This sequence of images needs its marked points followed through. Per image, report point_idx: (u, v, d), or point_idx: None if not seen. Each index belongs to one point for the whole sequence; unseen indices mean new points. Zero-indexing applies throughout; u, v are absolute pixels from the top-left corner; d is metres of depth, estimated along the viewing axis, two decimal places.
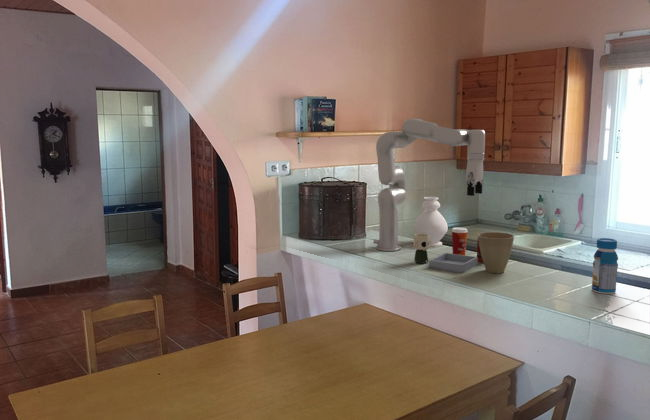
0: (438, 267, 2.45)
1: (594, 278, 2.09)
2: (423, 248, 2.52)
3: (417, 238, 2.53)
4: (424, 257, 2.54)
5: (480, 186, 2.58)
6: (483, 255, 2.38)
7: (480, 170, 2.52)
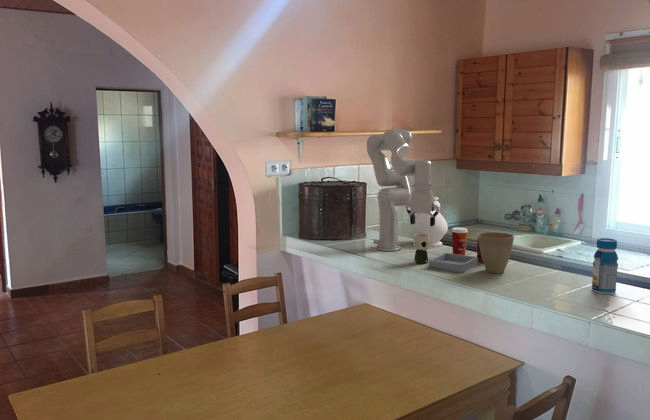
0: (438, 267, 2.45)
1: (594, 278, 2.09)
2: (423, 248, 2.52)
3: (417, 238, 2.53)
4: (424, 257, 2.54)
5: (414, 216, 2.57)
6: (483, 255, 2.38)
7: None
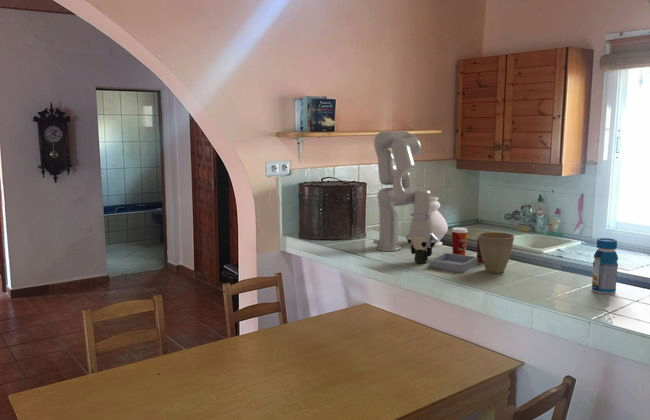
0: (438, 267, 2.45)
1: (594, 278, 2.09)
2: (423, 248, 2.52)
3: (417, 238, 2.53)
4: (424, 257, 2.54)
5: None
6: (483, 255, 2.38)
7: None
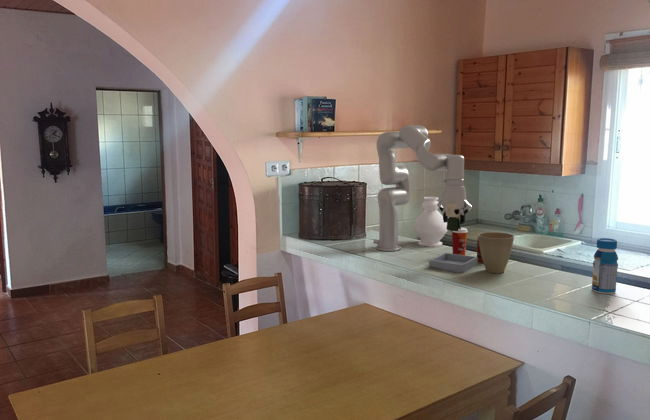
0: (438, 267, 2.45)
1: (594, 278, 2.09)
2: (456, 215, 2.43)
3: (450, 205, 2.43)
4: (457, 225, 2.44)
5: None
6: (483, 255, 2.38)
7: None
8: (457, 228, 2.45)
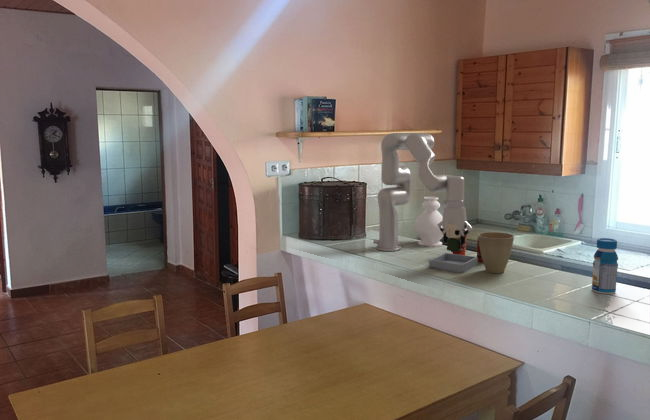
0: (438, 267, 2.45)
1: (594, 278, 2.09)
2: (456, 236, 2.44)
3: (450, 226, 2.44)
4: (457, 246, 2.46)
5: None
6: (483, 255, 2.38)
7: None
8: (457, 249, 2.46)
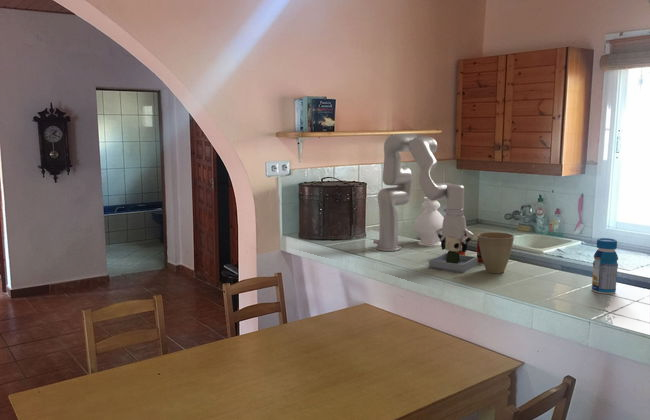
0: (438, 267, 2.45)
1: (594, 278, 2.09)
2: (456, 250, 2.45)
3: (449, 239, 2.45)
4: (456, 259, 2.47)
5: (445, 241, 2.52)
6: (483, 255, 2.38)
7: None
8: (457, 262, 2.47)
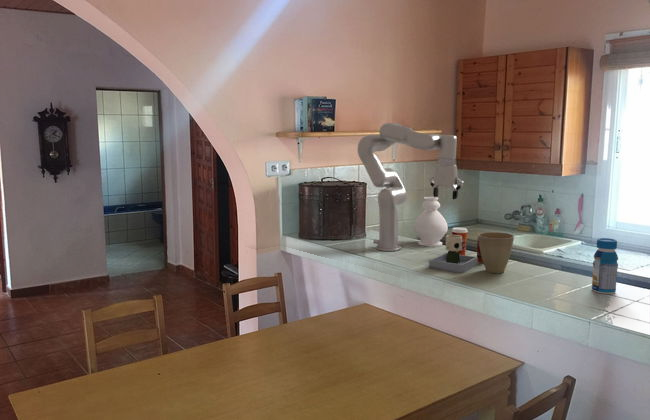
0: (438, 267, 2.45)
1: (594, 278, 2.09)
2: (456, 249, 2.45)
3: (450, 239, 2.45)
4: (457, 259, 2.47)
5: (437, 189, 2.65)
6: (483, 255, 2.38)
7: None
8: (457, 262, 2.47)
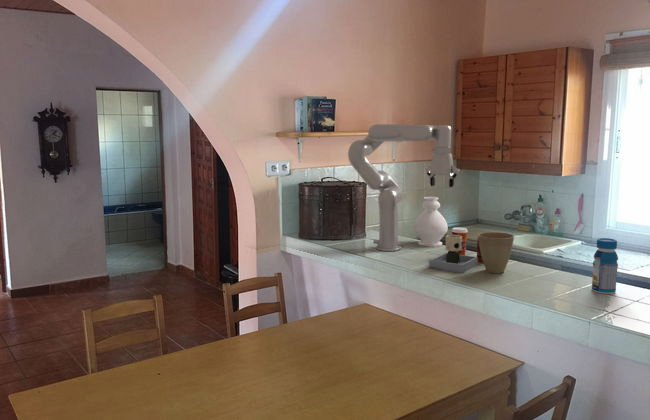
0: (438, 267, 2.45)
1: (594, 278, 2.09)
2: (456, 249, 2.45)
3: (450, 239, 2.45)
4: (457, 259, 2.47)
5: (434, 179, 2.74)
6: (483, 255, 2.38)
7: None
8: (457, 262, 2.47)
